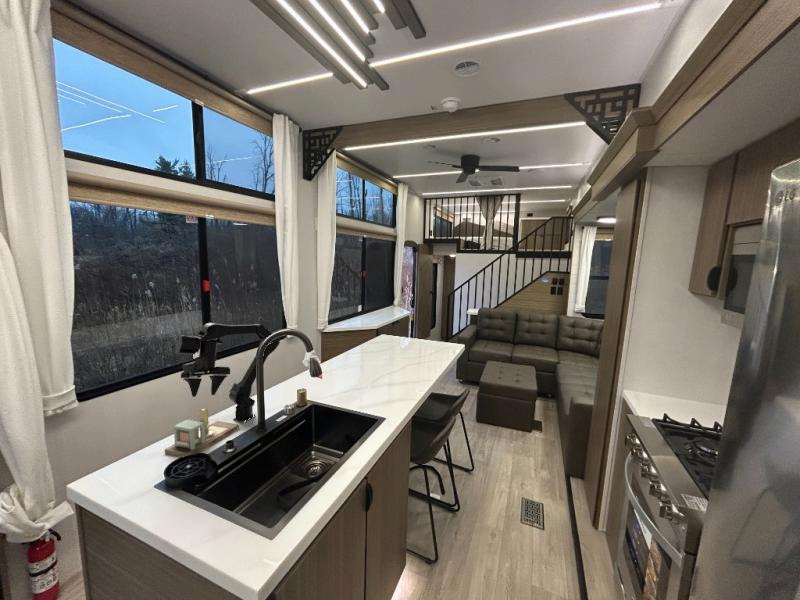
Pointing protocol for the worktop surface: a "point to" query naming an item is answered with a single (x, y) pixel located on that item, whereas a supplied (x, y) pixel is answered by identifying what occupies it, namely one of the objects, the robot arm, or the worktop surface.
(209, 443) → the track board
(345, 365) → the worktop surface
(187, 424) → the tunnel
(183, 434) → the terracotta block
